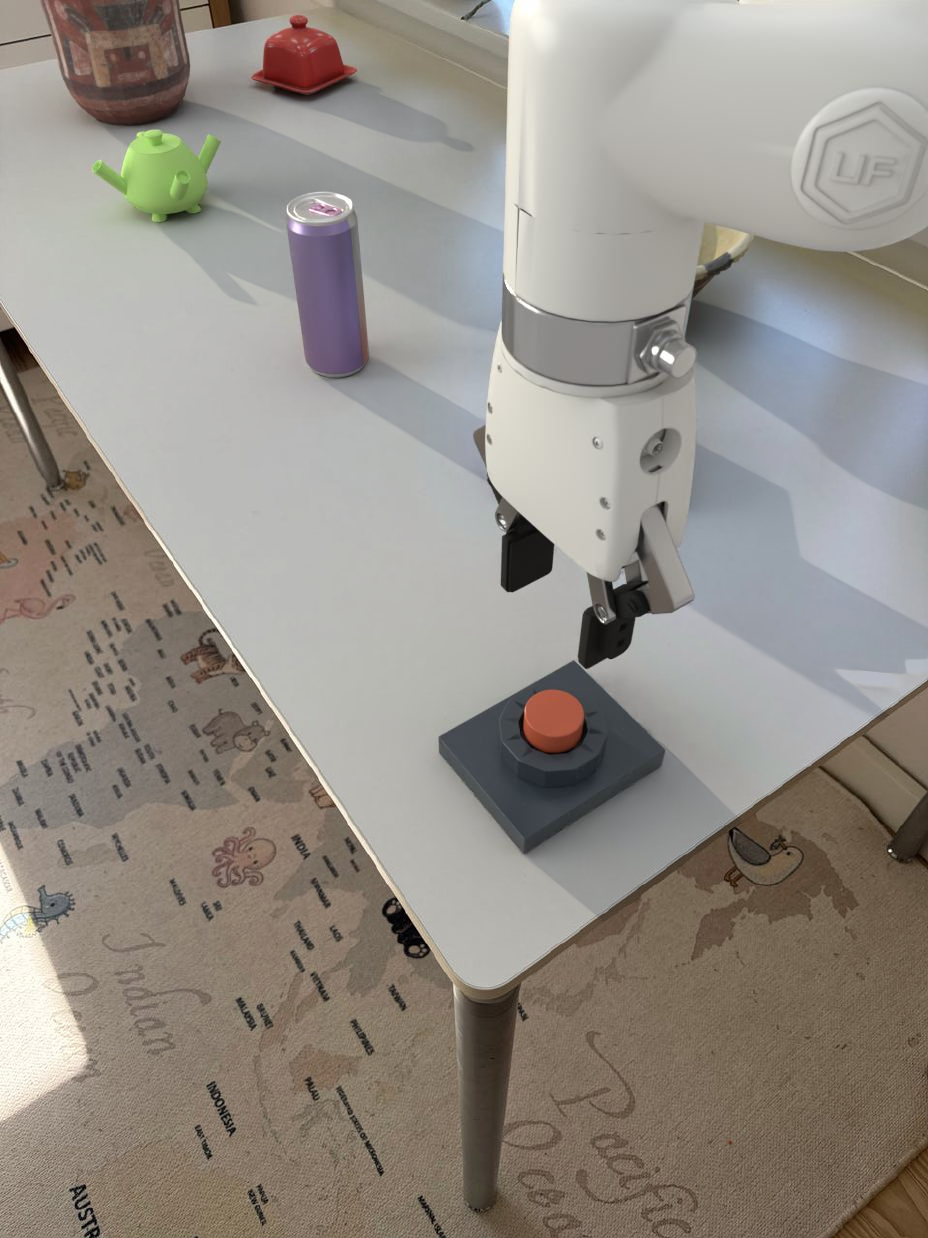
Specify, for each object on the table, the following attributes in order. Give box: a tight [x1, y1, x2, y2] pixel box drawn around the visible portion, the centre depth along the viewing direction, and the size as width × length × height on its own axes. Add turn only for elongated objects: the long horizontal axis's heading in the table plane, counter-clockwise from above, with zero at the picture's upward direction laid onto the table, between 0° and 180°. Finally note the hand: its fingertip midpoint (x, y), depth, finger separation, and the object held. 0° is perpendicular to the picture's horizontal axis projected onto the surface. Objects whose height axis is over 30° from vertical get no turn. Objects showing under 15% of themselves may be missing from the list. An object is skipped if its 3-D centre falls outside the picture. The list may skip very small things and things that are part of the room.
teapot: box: [91, 129, 222, 223], centre depth 113 cm, size 11×12×8 cm
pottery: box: [39, 0, 191, 126], centre depth 130 cm, size 18×18×18 cm
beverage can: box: [285, 191, 370, 379], centre depth 89 cm, size 6×6×15 cm
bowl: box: [691, 222, 756, 301], centre depth 97 cm, size 18×18×10 cm
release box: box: [437, 659, 666, 855], centre depth 63 cm, size 11×9×4 cm
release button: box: [523, 690, 584, 753], centre depth 61 cm, size 4×4×2 cm
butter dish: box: [250, 14, 358, 96], centre depth 139 cm, size 12×12×8 cm
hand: (564, 613), depth 54 cm, fingers open, 5 cm apart
